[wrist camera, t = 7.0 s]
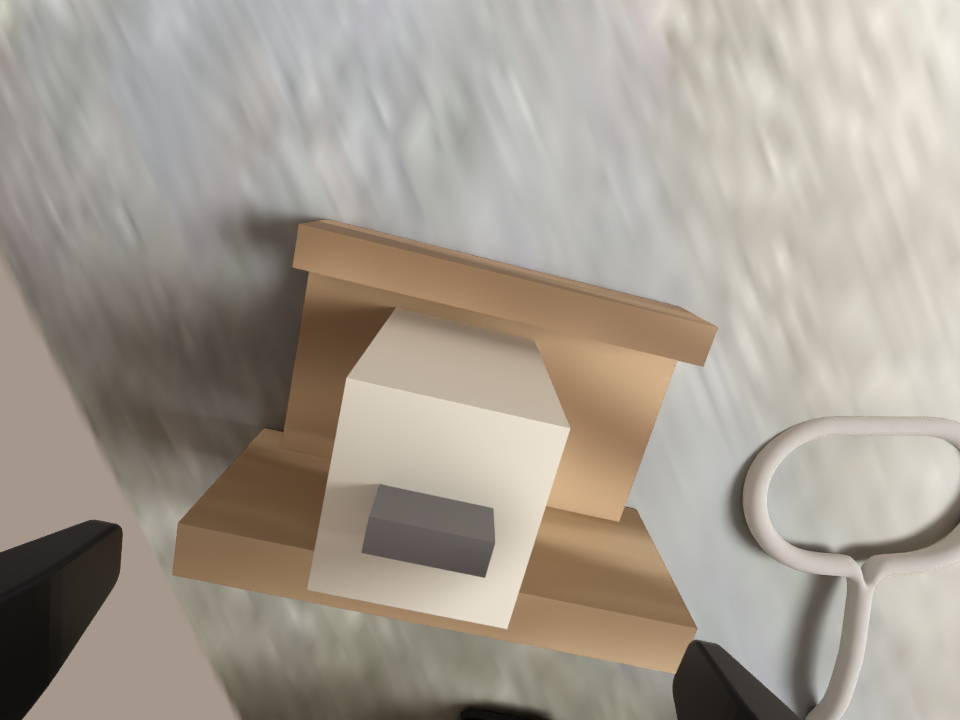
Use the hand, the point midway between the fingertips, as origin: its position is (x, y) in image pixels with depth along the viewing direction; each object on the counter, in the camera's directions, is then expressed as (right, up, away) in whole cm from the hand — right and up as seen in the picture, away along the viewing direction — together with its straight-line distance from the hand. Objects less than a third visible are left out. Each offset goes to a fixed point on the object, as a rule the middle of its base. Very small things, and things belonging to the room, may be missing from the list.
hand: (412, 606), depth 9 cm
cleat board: (+1, +3, +11) cm, 11 cm away
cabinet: (0, +3, +10) cm, 10 cm away
